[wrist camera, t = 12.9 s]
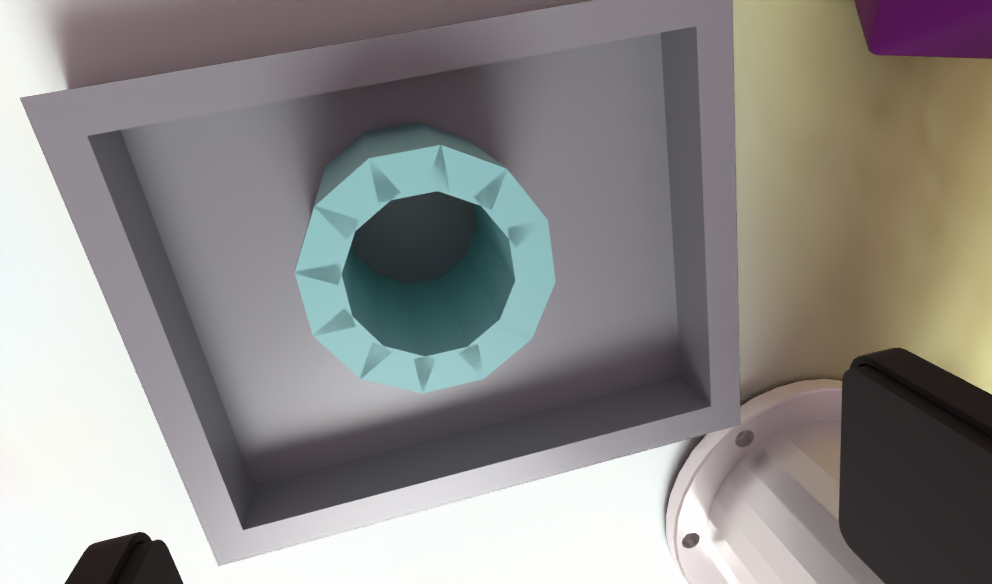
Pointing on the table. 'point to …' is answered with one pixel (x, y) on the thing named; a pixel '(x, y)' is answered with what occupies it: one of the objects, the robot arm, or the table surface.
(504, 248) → the ring
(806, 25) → the table surface
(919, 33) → the perfume bottle
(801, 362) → the table surface
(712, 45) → the tray
